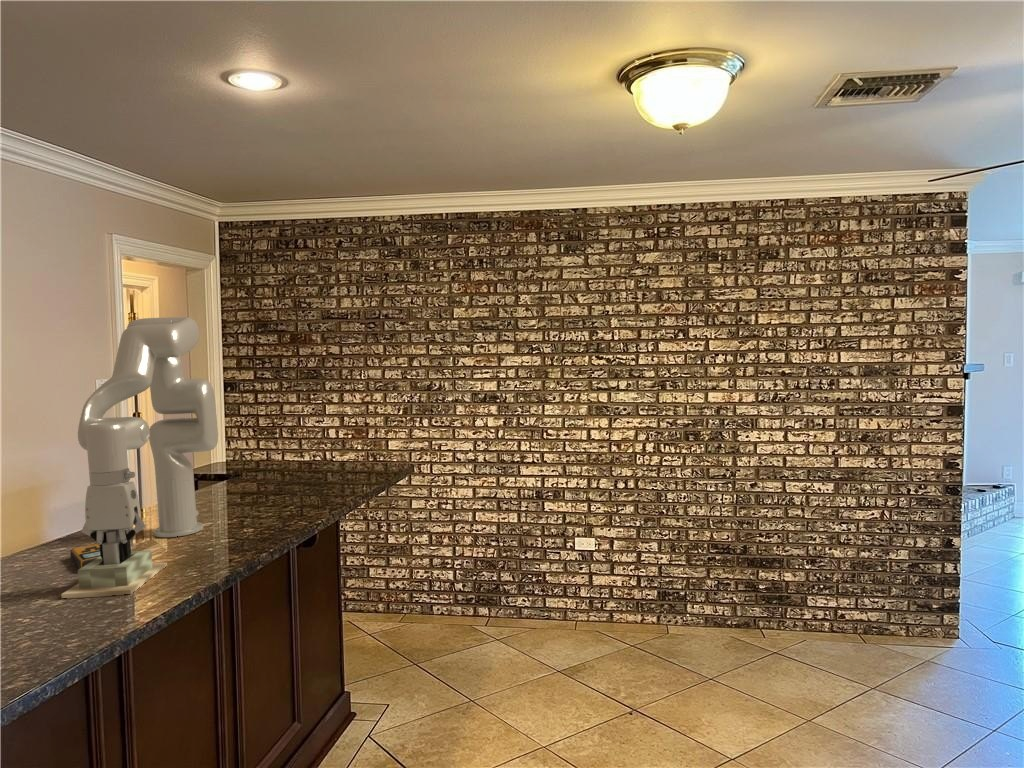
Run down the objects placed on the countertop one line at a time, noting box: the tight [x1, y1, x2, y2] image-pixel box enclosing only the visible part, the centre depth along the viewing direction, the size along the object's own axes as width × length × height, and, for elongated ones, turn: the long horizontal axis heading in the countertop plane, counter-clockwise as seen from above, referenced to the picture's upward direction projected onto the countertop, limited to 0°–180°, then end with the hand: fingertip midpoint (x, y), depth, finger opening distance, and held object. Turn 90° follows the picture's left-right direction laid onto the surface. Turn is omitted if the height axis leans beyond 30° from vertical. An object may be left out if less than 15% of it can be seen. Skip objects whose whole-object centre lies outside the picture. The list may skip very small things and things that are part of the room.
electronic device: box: [69, 543, 100, 570], centre depth 172 cm, size 8×16×3 cm, turn 41°
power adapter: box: [102, 530, 124, 565], centre depth 156 cm, size 3×5×12 cm, turn 3°
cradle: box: [60, 549, 168, 599], centre depth 156 cm, size 18×14×5 cm
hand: (116, 559), depth 156 cm, fingers closed on power adapter, 3 cm apart
